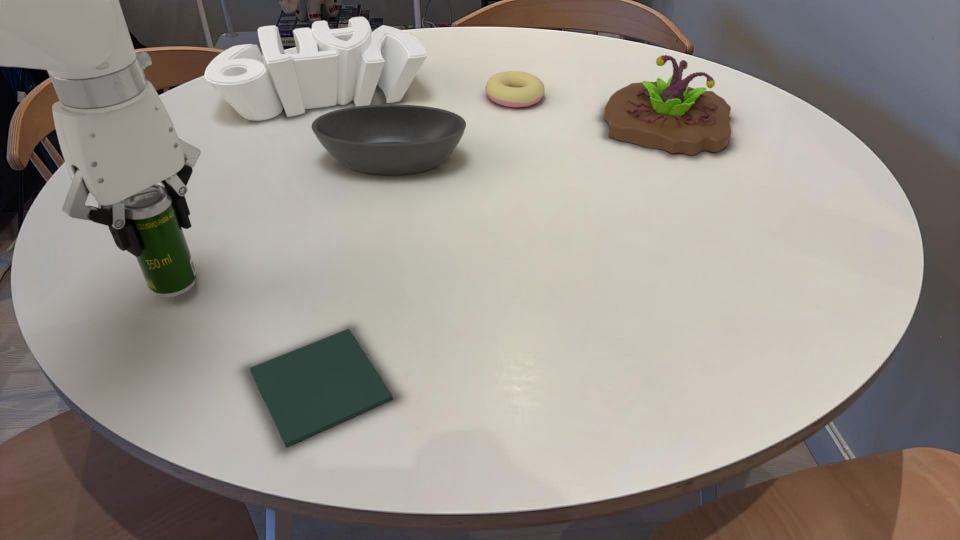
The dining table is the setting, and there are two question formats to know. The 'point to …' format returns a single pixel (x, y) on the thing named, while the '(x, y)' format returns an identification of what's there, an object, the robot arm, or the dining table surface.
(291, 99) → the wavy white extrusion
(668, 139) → the plant
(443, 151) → the bowl
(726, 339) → the dining table surface
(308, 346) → the front mat
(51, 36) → the robot arm
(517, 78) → the donut
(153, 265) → the beer can
